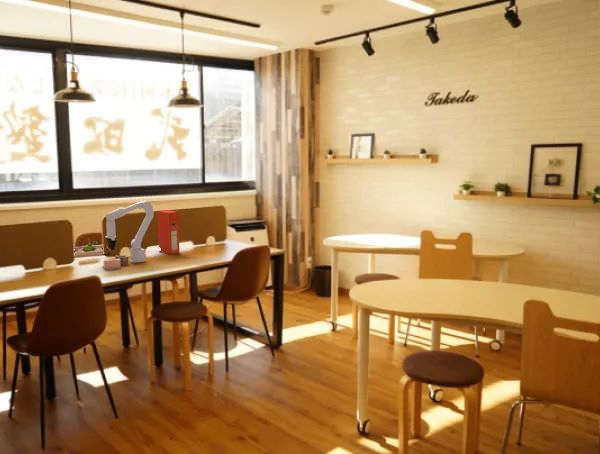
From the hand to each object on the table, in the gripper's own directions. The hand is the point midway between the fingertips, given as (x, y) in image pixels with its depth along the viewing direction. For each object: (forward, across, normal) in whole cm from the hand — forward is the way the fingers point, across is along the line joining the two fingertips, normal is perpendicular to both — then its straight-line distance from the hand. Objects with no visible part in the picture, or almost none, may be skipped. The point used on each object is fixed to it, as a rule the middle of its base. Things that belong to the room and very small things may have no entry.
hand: (111, 248), depth 374 cm
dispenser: (+10, +8, +4) cm, 14 cm away
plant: (+10, -45, -9) cm, 47 cm away
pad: (+10, +16, -3) cm, 19 cm away
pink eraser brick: (+9, +16, -3) cm, 19 cm away
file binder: (+10, -20, +45) cm, 50 cm away
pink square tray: (+10, -45, -9) cm, 47 cm away
